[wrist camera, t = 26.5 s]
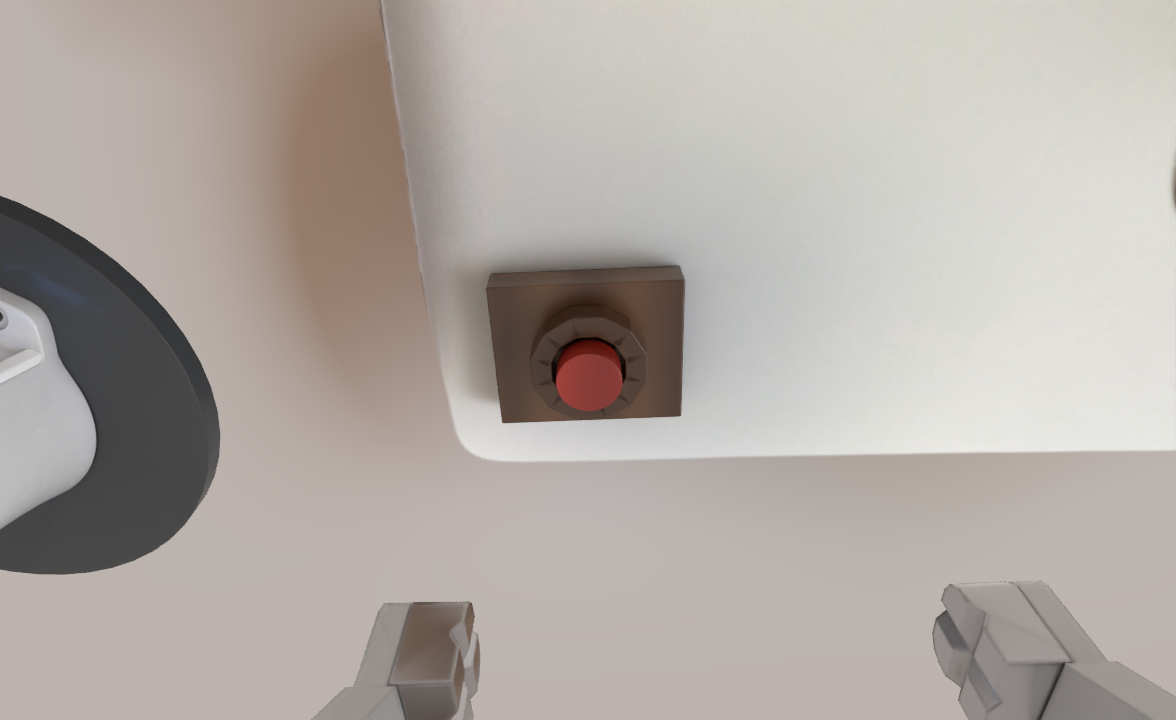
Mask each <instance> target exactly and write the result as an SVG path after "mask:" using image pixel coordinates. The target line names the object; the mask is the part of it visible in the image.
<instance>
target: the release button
mask: <svg viewBox="0 0 1176 720" xmlns="http://www.w3.org/2000/svg"><path fill="white" fill-rule="evenodd" d="M556 387H557V391H558V393H559V395H560V397H561V398H562V399H563V400H564V401H565V402H566V403H567V404H568V405H570V406H571V407H573V408H576V409H579V410H584V411H595V410H599V409H602V408H605V407H607V406H608V405H610V404H611V403H612V402H613V401H614V400H615V399H616V398H617V397H618V395H619V393H620V391H621V388H622V373H621V364H620V359H619V357H618V355H617V353H616V352H615V351H614V350H613V349H612V348H611V347H610V346H609V345H607V344H605V343H603V342H601V341H597V340H581V341H577V342H575V343H573V344H571V345H569V346H568V347H567V348H566V349H565V350H564V351H563V352H562V353H561V355H560V357H559V359H558V362H557V373H556Z"/></svg>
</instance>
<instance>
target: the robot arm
mask: <svg viewBox="0 0 1176 720" xmlns="http://www.w3.org/2000/svg"><path fill="white" fill-rule="evenodd" d="M0 312H1V313H2V315H1V314H0V529H2V528H3V527H5V526H6V525H8V524H9V523H11V522H12V521H14V520H15V519H17V518H18V517H20V516H21V515H23V514H25V513H26V512H28V511H30V510H31V509H33V508H35V507H36V506H38V505H40V504H42V503H43V502H45V501H47V500H49V499H51V498H53V497H55V496H58V495H60V494H62V493H64V492H66V491H68V490H69V489H71V488H72V487H74V486H75V485H76V484H77V483H78V482H79V481H80V480H81V479H82V478H83V477H84V476H85V475H86V473H87V472H88V470H89V469H90V466H91V464H92V462H93V459H94V456H95V451H96V429H95V424H94V420H93V416H92V413H91V411H90V408H89V406H88V403H87V401H86V399H85V397H84V396H83V394H82V392H81V390H80V389H79V387H78V386H77V384H76V383H75V381H74V380H73V378H72V377H71V375H70V374H69V373H68V371H67V370H66V368H65V367H64V365H63V363H62V361H61V359H60V358H59V356H58V351H57V346H56V342H55V337H54V333H53V330H52V327H51V324H50V321H49V319H48V317H47V316H46V314H45V313H44V312H43V310H42V309H41V308H40V307H38V306H37V305H36V304H34V303H32V302H31V301H29V300H26V299H24V298H22V297H20V296H18V295H15V294H13V293H11V292H9V291H7V290H4V289H2V288H0ZM941 601H942V602H943V604H944V606H945V608H946V609H947V610H946V611H944V612H943V613H942V614H941V615H939V616H938V617H937V618H936V620H935V624H934V628H933V643H934V650H935V653H936V656H937V659H938V662H939V664H940V666H941V668H942V670H943V672H944V674H945V676H946V677H948V678H949V679H950V680H952V681H953V682H954V683H956V684H957V685H958V686H960V687H961V690H960V695H959V699H958V701H959V703H960V705H961V706H962V708H963V710H964V712H965V714H966V716H967V718H968V719H969V720H1176V697H1175V696H1174V695H1172V694H1170V693H1169V692H1167V691H1165V690H1164V689H1162V688H1161V687H1159V686H1157V685H1156V684H1154V683H1152V682H1150V681H1149V680H1147V679H1145V678H1144V677H1142V676H1141V675H1139V674H1137V673H1136V672H1134V671H1132V670H1131V669H1129V668H1127V667H1126V666H1124V665H1123V664H1121V663H1119V662H1108V661H1107V659H1106V658H1105V657H1104V655H1103V654H1102V653H1101V652H1100V650H1099V649H1098V648H1097V646H1096V645H1095V644H1094V643H1093V641H1092V640H1091V639H1090V638H1089V636H1088V635H1087V634H1086V632H1085V631H1084V630H1083V629H1082V627H1081V626H1080V625H1079V624H1078V622H1077V621H1076V620H1075V619H1074V617H1073V616H1072V615H1071V614H1070V612H1069V611H1068V610H1067V608H1066V607H1065V606H1064V605H1063V603H1062V602H1061V601H1060V599H1059V598H1058V597H1057V596H1056V594H1055V593H1054V592H1053V591H1052V589H1051V588H1050V587H1049V586H1048V585H1047V584H1045V583H1044V582H1042V581H1041V580H1038V581H1012V582H983V583H963V584H950V585H949V586H947V587H946V588H945V589H944V592H943V595H942V599H941ZM474 617H475V616H474V611H473V607H472V603H471V602H413V603H384V604H383V606H382V607H381V608H380V610H379V611H378V614H377V617H376V620H375V623H374V626H373V629H372V632H371V635H370V638H369V641H368V644H367V647H366V650H365V654H364V657H363V660H362V663H361V666H360V669H359V672H358V675H357V678H356V681H355V684H354V687H348V688H344V689H343V690H342V691H341V692H340V693H339V694H338V695H337V696H335V697H334V698H333V699H332V700H331V701H330V702H329V703H328V704H327V705H326V706H325V707H324V708H323V709H322V710H321V711H320V712H319V713H318V714H317V715H316V716H315V717H314V718H313V719H312V720H473V711H472V706H471V700H470V699H471V698H472V697H473V696H474V694H475V693H476V692H477V688H478V681H479V671H480V669H479V668H480V648H479V640H478V635H477V634H476V633H475V632H474V631H473V630H472V629H473V622H474Z"/></svg>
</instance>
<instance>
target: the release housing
mask: <svg viewBox="0 0 1176 720" xmlns="http://www.w3.org/2000/svg"><path fill="white" fill-rule="evenodd" d="M486 292H487V300H488V308H489V317H490V325H491V333H492V342H493V350H494V359H495V367H496V375H497V384H498V392H499V400H500V409H501V417H502V422H503V423H519V422H545V421H571V420H597V419H623V418H649V417H675V416H681V401H682V367H683V333H684V299H685V279H684V276H683V274H682V271H681V268H680V266H669V267H645V268H620V269H596V270H572V271H547V272H523V273H498V274H491V275H490V278H489V281H488V284H487V288H486ZM581 340H597V341H601V342H603V343H605V344H607V345H609V346H610V347H611V348H612V349H613V350H614V351H615V352H616V353H617V355H618V357H619V359H620V364H621V373H622V388H621V391H620V393H619V395H618V397H617V398H616V399H615V400H614V401H613V402H612V403H611V404H610V405H608V406H607V407H605V408H602V409H599V410H595V411H584V410H579V409H576V408H573V407H571V406H570V405H568V404H567V403H566V402H565V401H564V400H563V399H562V398H561V397H560V395H559V393H558V391H557V387H556V373H557V362H558V359H559V357H560V355H561V353H562V352H563V351H564V350H565V349H566V348H567V347H568V346H569V345H571V344H573V343H575V342H577V341H581Z"/></svg>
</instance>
